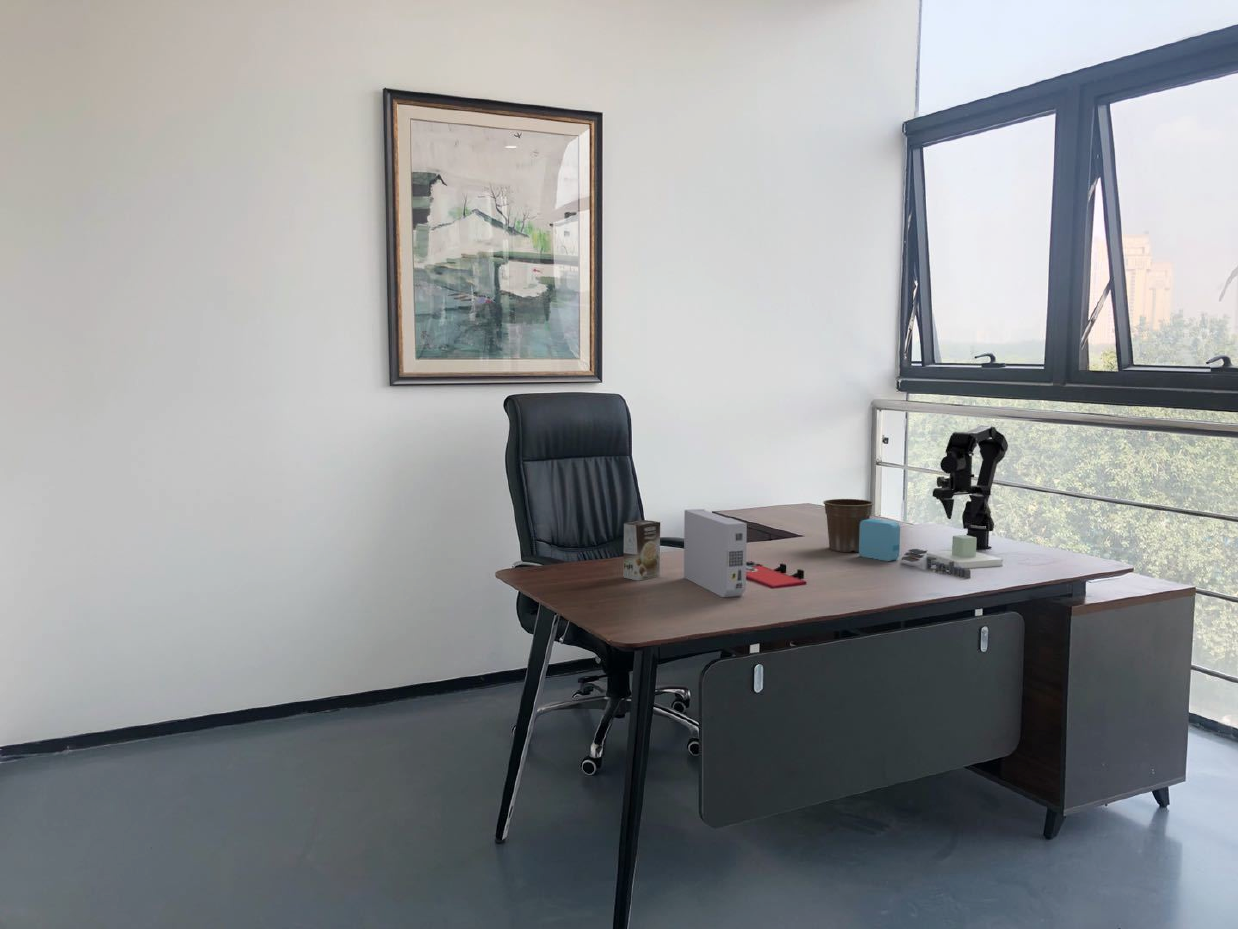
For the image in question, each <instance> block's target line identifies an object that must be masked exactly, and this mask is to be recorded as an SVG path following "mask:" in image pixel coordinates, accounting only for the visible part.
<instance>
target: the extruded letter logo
mask: <svg viewBox="0 0 1238 929" xmlns="http://www.w3.org/2000/svg"><path fill="white" fill-rule="evenodd" d="M926 552H928V550H923V549H919V548H911V549H908V550H907V552H905V553H904V556H902V557H901V559H900V561H903V560H904V561H907V562H910V563H913V562H918V561H921V559H922V558H924V556H925V554H926ZM932 560H937V558H935V557H931V556H929V557H927V559H926V561H925V562H926V565H925V566H926V567H925V570H929V571H934V572H938V573H941V574H945V575H947V574H948V575H950V576H954V577H960V578H964V579H970V578H971V570H970V569H971V568H961V567H954V561H951V562H949V564H944V563H940V562H935V561H932ZM932 566H935V567H936V568H935V567H932Z"/></svg>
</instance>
